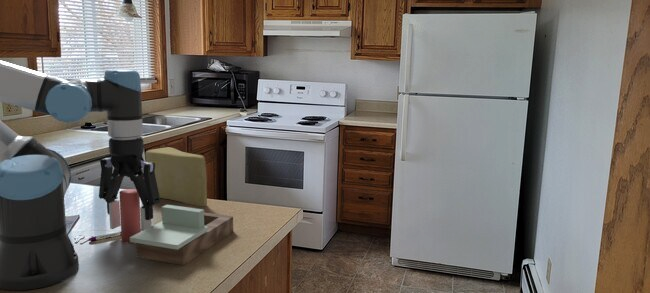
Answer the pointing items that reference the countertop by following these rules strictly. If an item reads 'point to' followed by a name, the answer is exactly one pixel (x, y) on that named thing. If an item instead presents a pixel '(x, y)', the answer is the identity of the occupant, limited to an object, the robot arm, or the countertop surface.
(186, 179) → the cheese
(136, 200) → the peg
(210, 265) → the countertop surface
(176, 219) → the cover
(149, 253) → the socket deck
